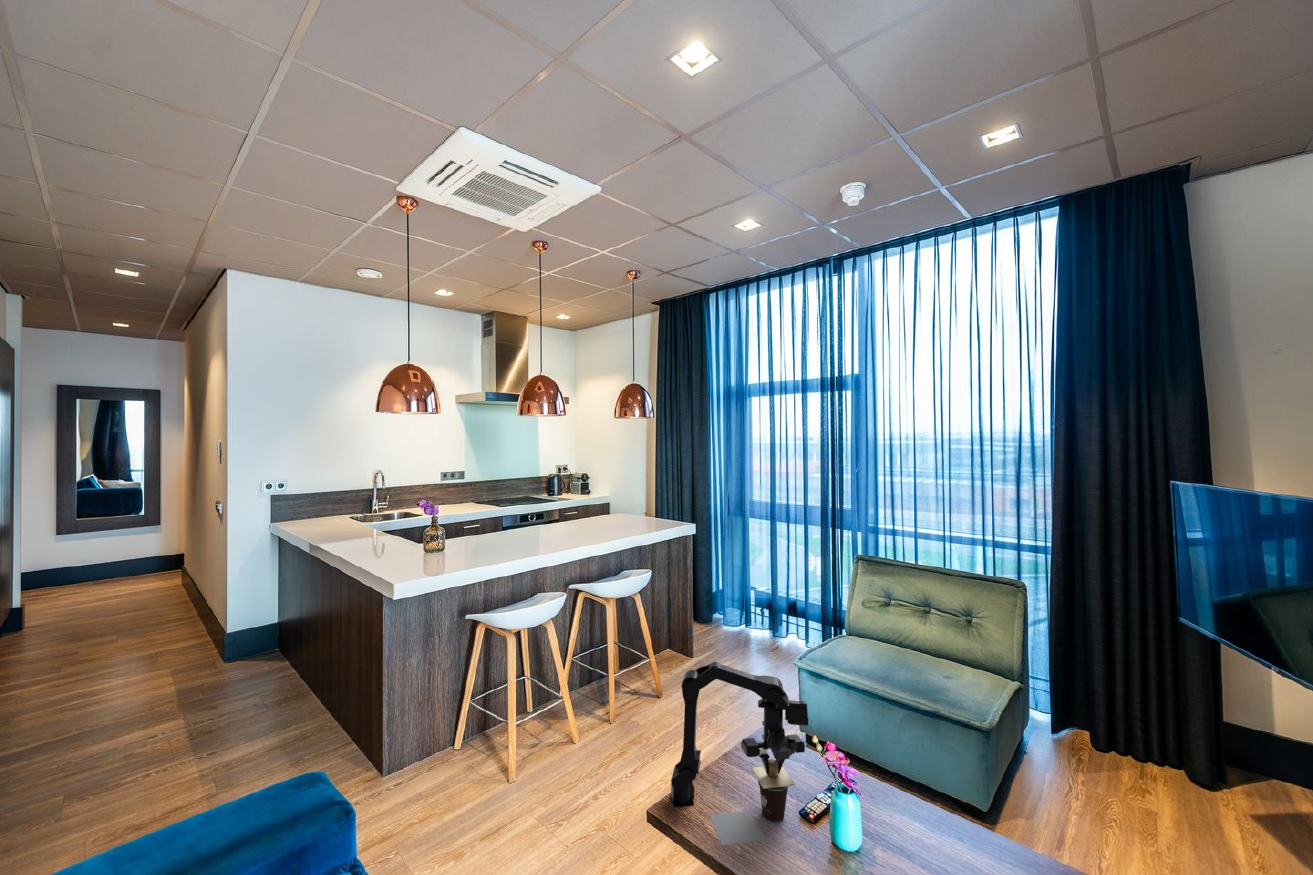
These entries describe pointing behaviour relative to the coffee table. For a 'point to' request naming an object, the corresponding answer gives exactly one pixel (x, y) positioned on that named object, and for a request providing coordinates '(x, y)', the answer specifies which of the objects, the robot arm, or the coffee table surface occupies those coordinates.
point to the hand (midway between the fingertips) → (772, 773)
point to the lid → (772, 776)
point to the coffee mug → (773, 802)
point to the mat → (737, 828)
